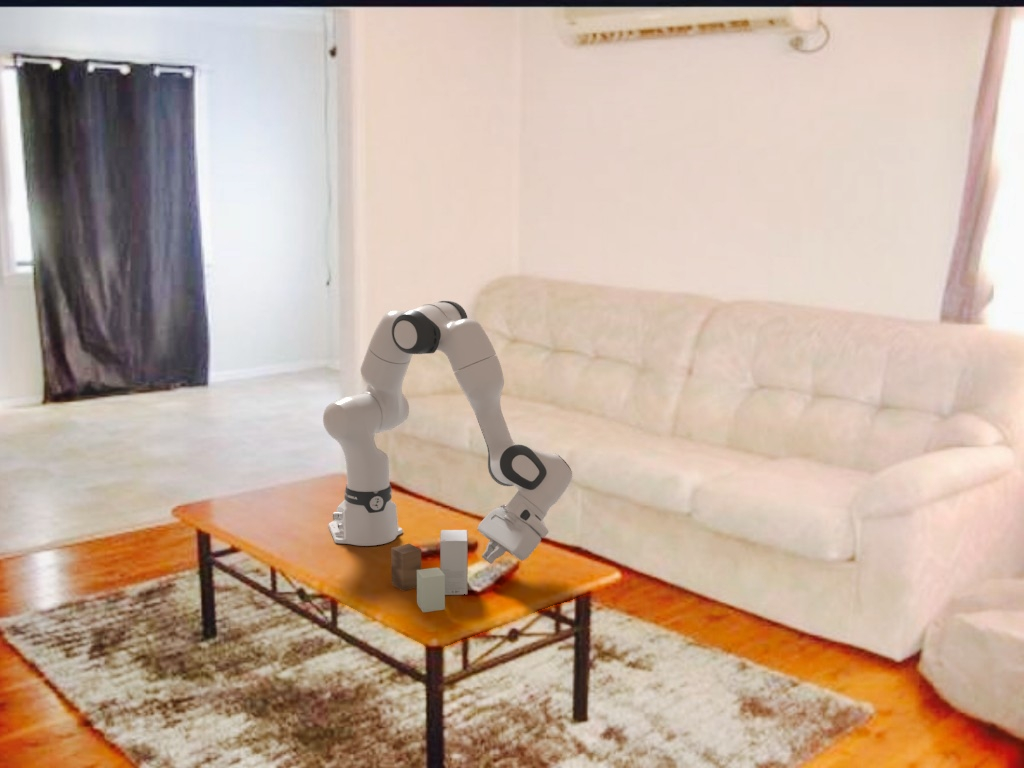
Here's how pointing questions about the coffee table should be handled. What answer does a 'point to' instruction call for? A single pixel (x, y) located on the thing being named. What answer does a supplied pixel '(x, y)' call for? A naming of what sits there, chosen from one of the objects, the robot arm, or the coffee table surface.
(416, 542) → the coffee table surface
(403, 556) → the walnut block
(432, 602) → the sage block
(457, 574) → the small box
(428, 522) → the coffee table surface
